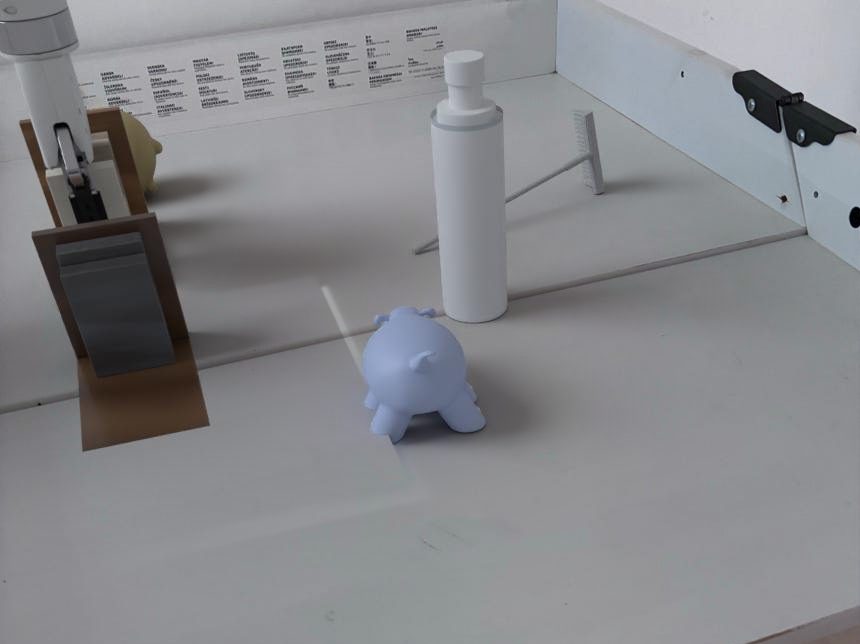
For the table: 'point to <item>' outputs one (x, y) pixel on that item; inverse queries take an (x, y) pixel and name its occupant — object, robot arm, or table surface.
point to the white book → (104, 183)
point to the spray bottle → (470, 193)
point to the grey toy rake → (589, 155)
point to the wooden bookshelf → (96, 158)
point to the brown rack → (123, 329)
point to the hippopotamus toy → (417, 374)
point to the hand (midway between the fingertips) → (94, 217)
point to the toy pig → (142, 150)
